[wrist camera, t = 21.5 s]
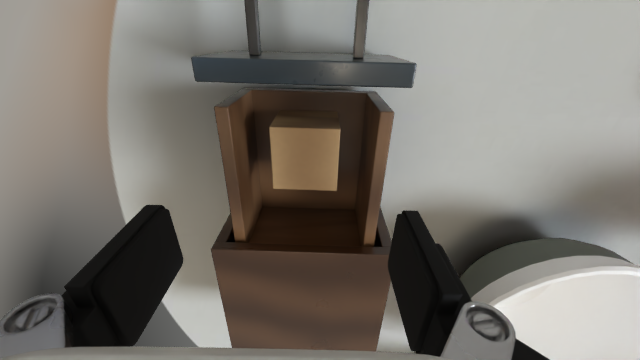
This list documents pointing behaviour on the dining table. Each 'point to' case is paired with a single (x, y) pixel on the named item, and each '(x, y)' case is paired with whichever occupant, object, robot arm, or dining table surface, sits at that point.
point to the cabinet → (303, 292)
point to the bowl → (563, 297)
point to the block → (305, 150)
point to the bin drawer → (264, 104)
